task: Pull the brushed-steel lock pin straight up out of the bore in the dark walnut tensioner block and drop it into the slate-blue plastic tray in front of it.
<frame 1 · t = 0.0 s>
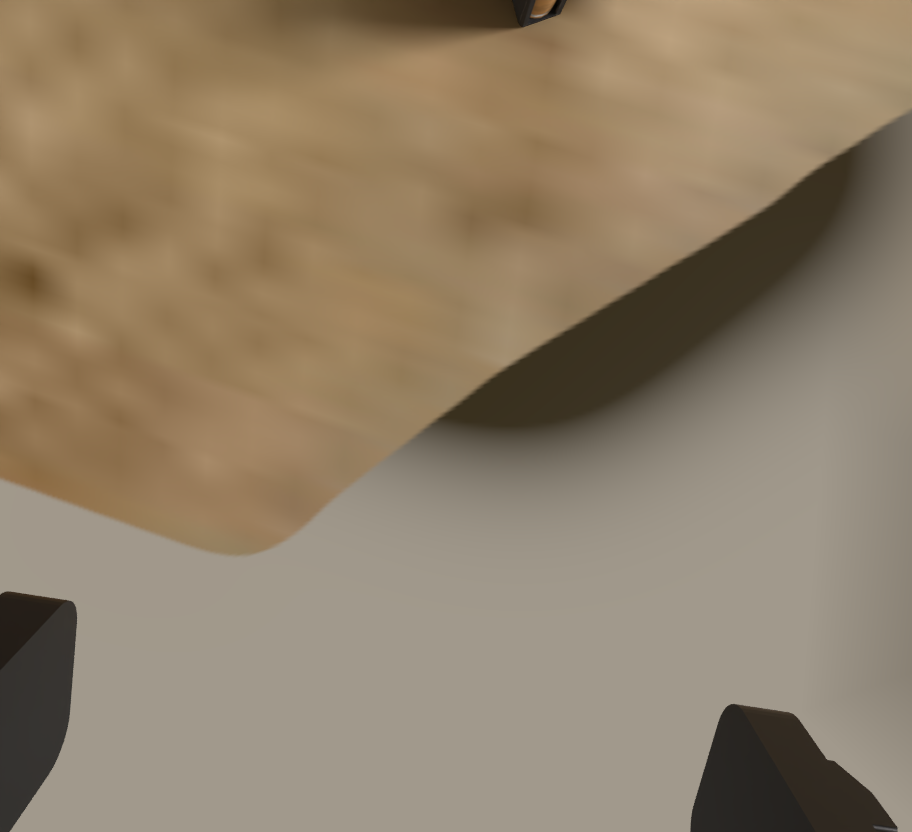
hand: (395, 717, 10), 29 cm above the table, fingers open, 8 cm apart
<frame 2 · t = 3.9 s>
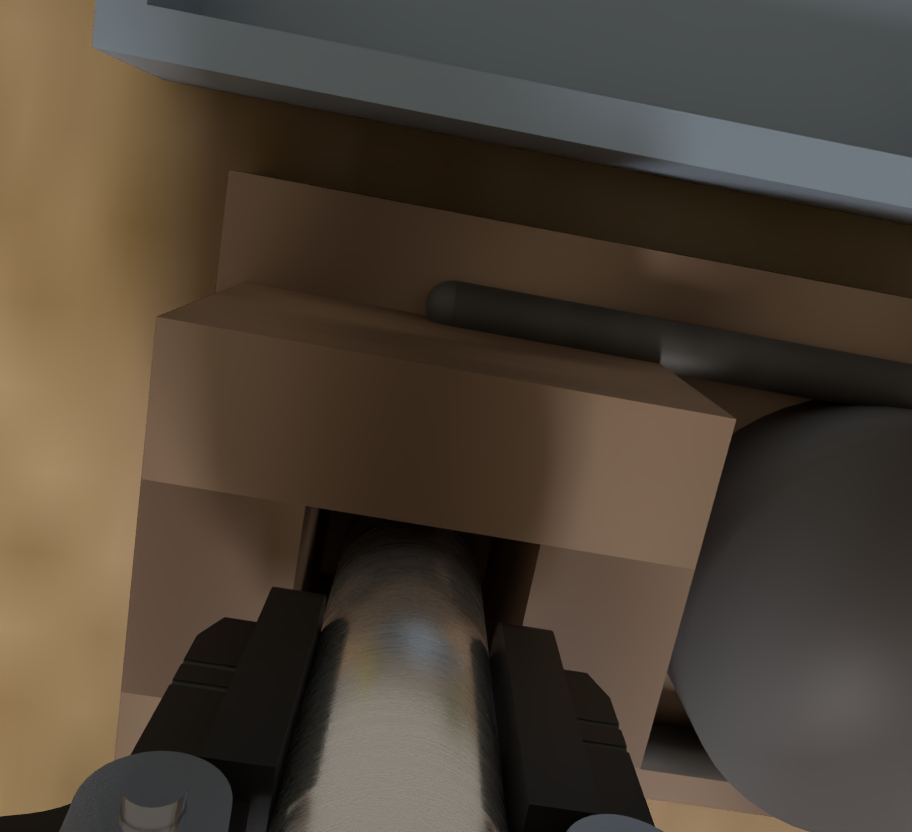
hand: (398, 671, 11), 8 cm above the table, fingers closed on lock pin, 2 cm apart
lock pin: (413, 509, 17), point 2 cm above the table, touching gripper, tensioner
tensioner: (607, 510, 19), on the table
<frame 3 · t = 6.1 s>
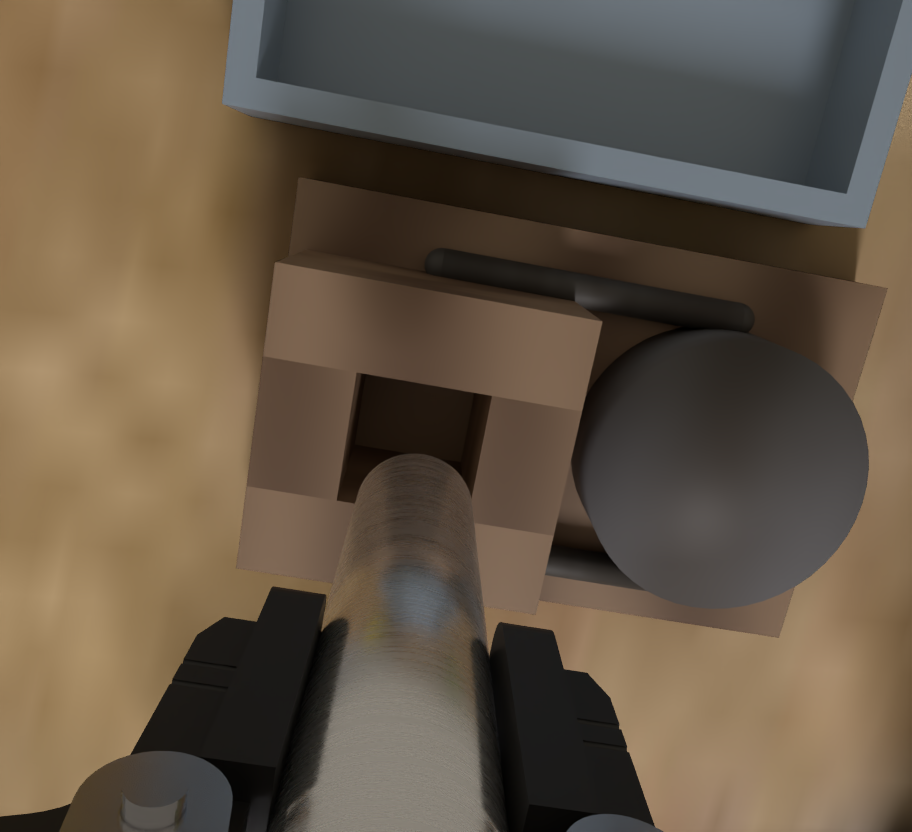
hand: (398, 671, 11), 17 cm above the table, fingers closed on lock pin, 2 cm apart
lock pin: (414, 509, 17), point 11 cm above the table, touching gripper
tensioner: (549, 410, 28), on the table
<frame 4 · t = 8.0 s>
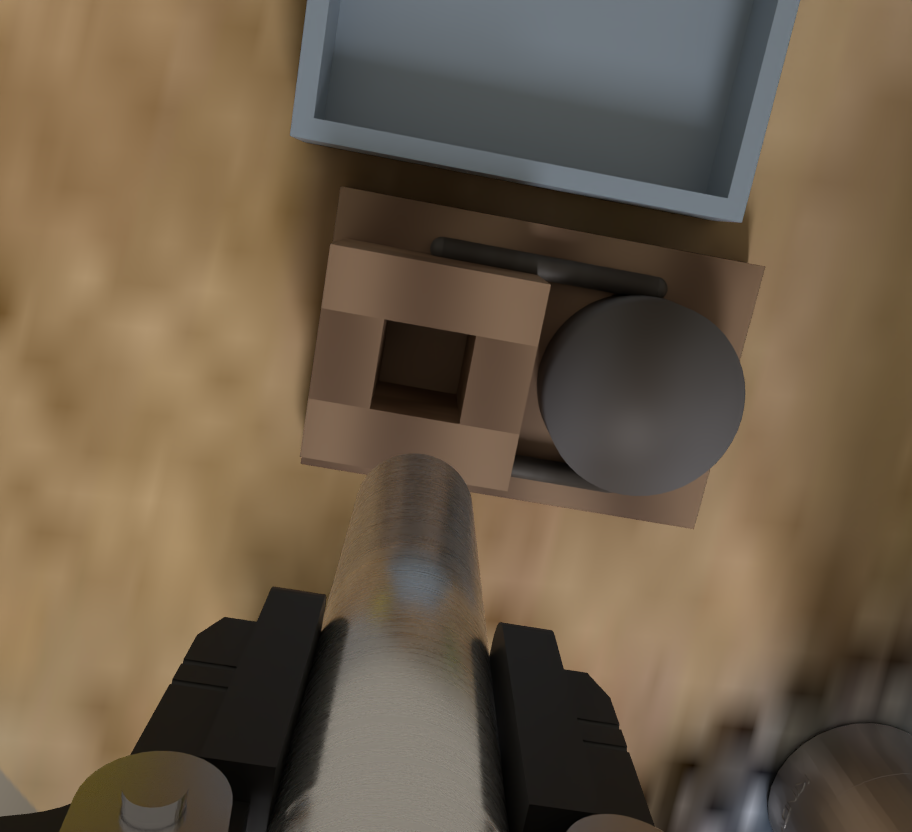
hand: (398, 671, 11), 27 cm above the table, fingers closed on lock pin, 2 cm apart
lock pin: (414, 509, 17), point 21 cm above the table, touching gripper
tensioner: (522, 359, 38), on the table
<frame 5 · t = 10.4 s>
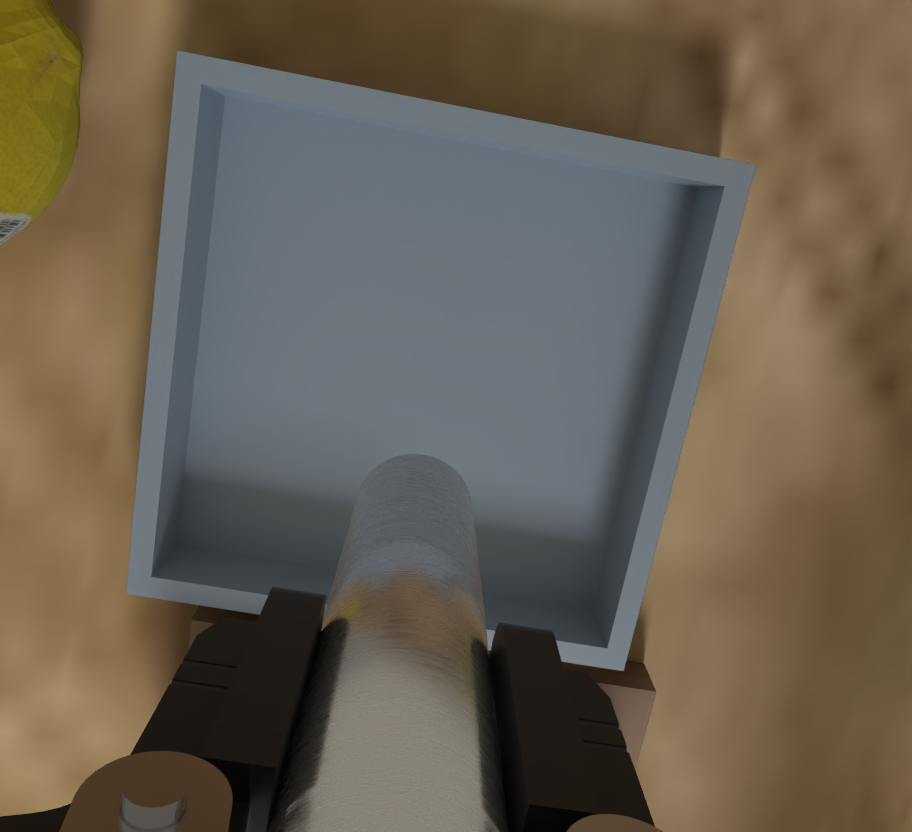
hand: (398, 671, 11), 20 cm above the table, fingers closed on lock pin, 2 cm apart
lock pin: (414, 509, 17), point 14 cm above the table, touching gripper
tray: (424, 371, 31), on the table
tensioner: (404, 757, 35), on the table
when the fingers open (10 cm above the table, at t = 12.2 s): lock pin drops 3 cm, resting on tray.
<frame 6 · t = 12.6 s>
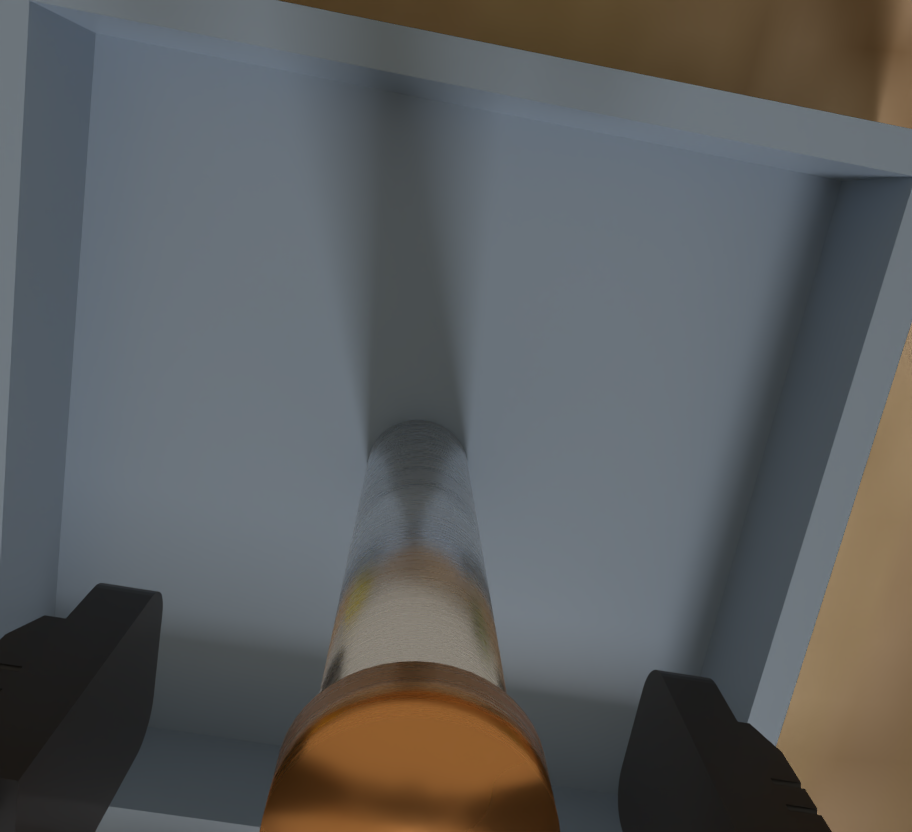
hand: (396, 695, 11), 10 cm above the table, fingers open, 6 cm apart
lock pin: (417, 468, 20), point 1 cm above the table, touching tray
tray: (416, 458, 20), on the table
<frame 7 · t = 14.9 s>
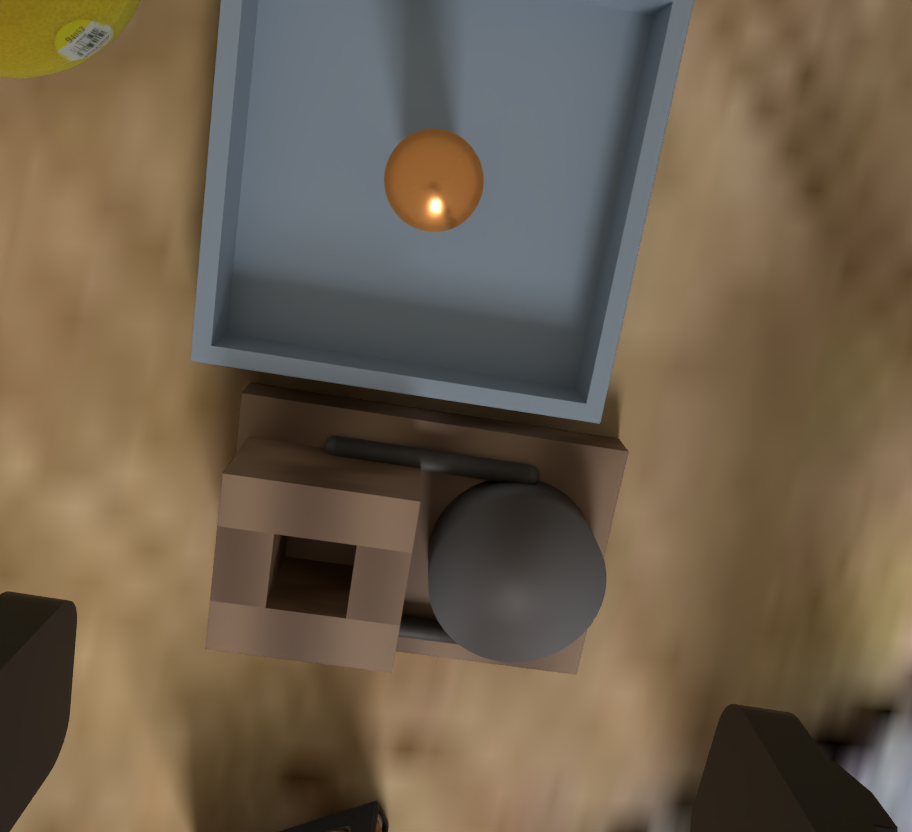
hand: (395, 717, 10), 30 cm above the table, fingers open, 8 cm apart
lock pin: (432, 182, 36), point 1 cm above the table, touching tray
tray: (431, 181, 37), on the table
tensioner: (419, 525, 41), on the table
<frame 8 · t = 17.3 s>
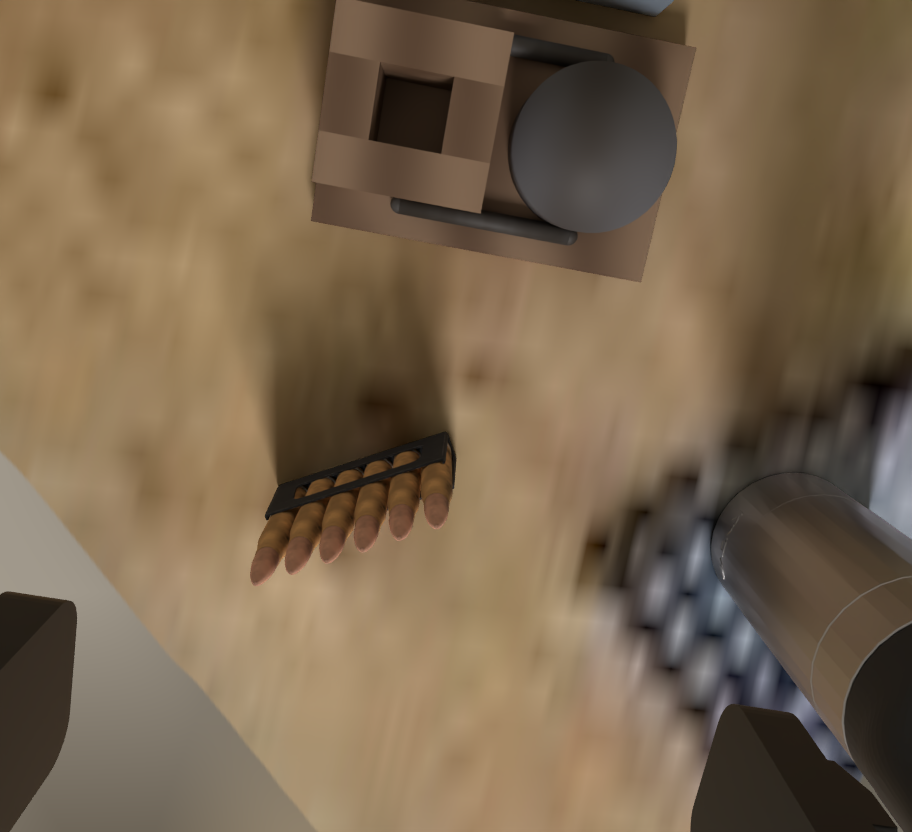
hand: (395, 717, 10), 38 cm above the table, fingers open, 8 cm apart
ammunition clip: (367, 471, 50), on the table
tensioner: (497, 138, 45), on the table
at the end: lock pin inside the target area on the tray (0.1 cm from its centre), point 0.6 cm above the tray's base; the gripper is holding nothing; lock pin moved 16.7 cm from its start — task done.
